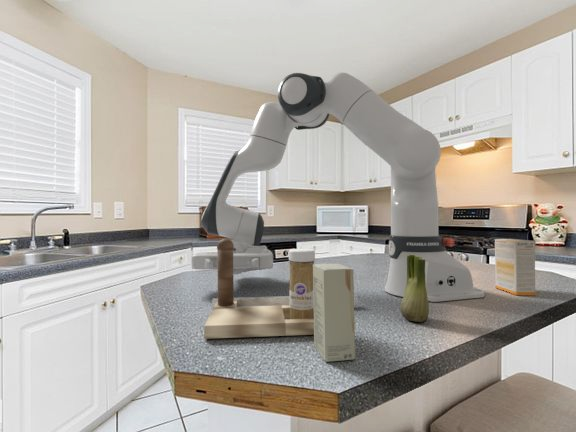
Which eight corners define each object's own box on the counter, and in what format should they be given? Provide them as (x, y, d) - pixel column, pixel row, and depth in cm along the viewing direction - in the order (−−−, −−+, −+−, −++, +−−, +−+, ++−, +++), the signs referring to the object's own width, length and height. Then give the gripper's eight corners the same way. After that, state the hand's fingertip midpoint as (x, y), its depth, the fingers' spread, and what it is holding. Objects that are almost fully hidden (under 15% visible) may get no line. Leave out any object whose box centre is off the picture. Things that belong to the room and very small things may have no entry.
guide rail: (355, 305, 68) (355, 294, 68) (358, 307, 66) (358, 295, 66) (213, 310, 65) (213, 298, 65) (212, 312, 64) (212, 300, 64)
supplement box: (536, 295, 75) (536, 240, 75) (516, 296, 75) (515, 240, 75) (512, 288, 83) (512, 238, 83) (494, 288, 84) (494, 238, 84)
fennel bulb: (429, 327, 55) (429, 257, 55) (399, 323, 57) (399, 256, 57) (428, 317, 60) (428, 253, 60) (401, 314, 62) (400, 252, 62)
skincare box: (356, 361, 42) (355, 269, 42) (324, 363, 41) (324, 270, 41) (340, 342, 48) (340, 262, 48) (312, 344, 48) (312, 262, 48)
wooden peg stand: (318, 308, 65) (317, 236, 65) (333, 333, 51) (333, 242, 51) (216, 311, 63) (216, 238, 63) (204, 338, 49) (203, 244, 49)
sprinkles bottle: (290, 331, 53) (289, 250, 53) (288, 322, 58) (287, 248, 58) (317, 330, 54) (316, 250, 54) (313, 321, 58) (312, 247, 58)
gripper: (196, 246, 86) (184, 252, 73) (272, 245, 88) (273, 251, 74) (196, 269, 86) (184, 279, 73) (272, 268, 88) (273, 278, 74)
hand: (230, 265), depth 74 cm, fingers open, 8 cm apart
